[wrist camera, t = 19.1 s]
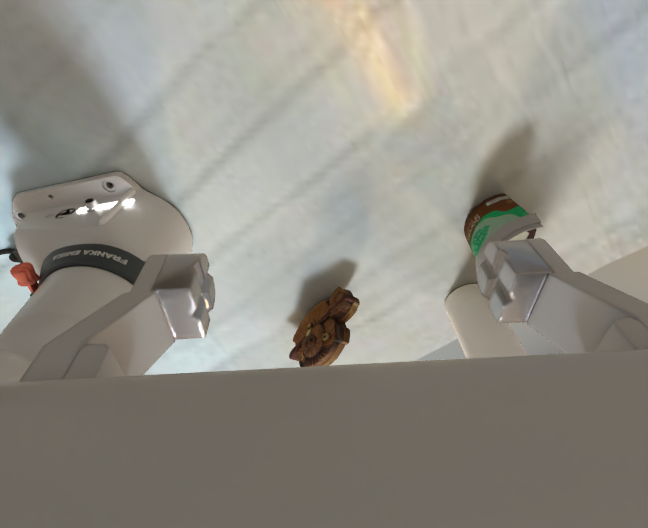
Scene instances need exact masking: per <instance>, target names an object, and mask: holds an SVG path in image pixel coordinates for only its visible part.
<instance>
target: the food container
mask: <svg viewBox="0 0 648 528" xmlns="http://www.w3.org/2000/svg"><path fill="white" fill-rule="evenodd" d="M541 227H543V226H542V225H541V221H540V219H539V218H538V216H537V215H536V214H529V213H527V212H526V211H525V210H524V209H523V208H521V207H520V206H519V205H518V204H517V203H515V202H514V201H513V200H512V199H511V198H509V197H508V196H507V195H506V194H500V195H495V196H493V197H491V198H489V199H486V200H484V201H483V202H482V203H480V204H479V205H478V206H476V207H475V208H474V209H473V211H472V212H471V213H470V214H469V216H468V218H467V220H466V222H465V226H464V232H465V236H466V239H467V241H468V243H469V245H470V247H471V249H472V252H473V254H474V256H475V258H476V272H477V273H478V269H479V265H480V264H481V263H482V262H484V261H485V260H486V257H485V256H484V254H483V252H484V249H485V246H486V244H487V243H488V242H492V241H511V240H523V239H534V236H535V232H536V228H541Z"/></svg>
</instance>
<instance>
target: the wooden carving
mask: <svg viewBox="0 0 648 528" xmlns="http://www.w3.org/2000/svg"><path fill="white" fill-rule="evenodd" d="M359 303H360V302H359V300H358V299H357V298H355V297H354V296H353V295H352V293H351V291H349V290H346V289H342V288H340V287H338V288H337V289H336V290H335V292H334V293H333V295H332V297H331V298H330V300H324V301H321V302H320V303H318V304H317V305H316V306H314V307H313V308H312V309H311V310H310V311H309V313H308V314H307V315H306V317H305V318H304V319H303V320H302V322H301V324H300V326H299V327H298V329H297V331H296V334H295V335H294V338H293V342H295V343H296V346H295V347H294V348H293V349H292V351H291V353H290V355H289V358H290V359H293V360H297V361H299V364H300V367H315V366H329V365H331V364H332V363H333V362H334V361H335V360H336V359H337V358H338V356H339V355H340V353H341V352H342V350H343V348H344V346H345V345H347V344H348V343H349V339H350V330H349V329H348V328H347V327H346V325H345V322H347V321H348V320H349V319H350V318H351V317H352V316H353V315H354V314H355V312H356V310H357V308H358V306H359Z"/></svg>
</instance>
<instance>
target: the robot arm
mask: <svg viewBox="0 0 648 528" xmlns="http://www.w3.org/2000/svg"><path fill="white" fill-rule="evenodd" d="M108 182H111V183H112V184H113V186H111V185H110V184H109V183H108ZM21 213H22V214H24V215H25V216H24V215H22V214H21ZM12 214H13V218H14V222H15V225H16V227H17V228H16V231H15V244H16V248H17V249H10V248H9V249H3V250H0V255H1V254H10V256H9V259H10V260H11V261H13V262H20V264H19V265H16V266H14V267H13V268H12V270H10V272H11V274H12V275H13V277H15V278H16V279H17V282H18V285H20V286H28V288H29V289H30V291H31V292H32V293H31V295H30V296H31V297H30V299H29V300H28V301H27V302H26V303H25V305H24V306H23V307H22V308H21V309H20V311H19V312H18V313H17V314H16V315H15V317H14V318H13V319H12V320H11V322H10V323H9V324H8V325H7V326H6V328H5V329H4V330H3V331H2V333H1V334H0V528H648V304H647V303H645V302H643V301H641V300H639V299H637V298H635V297H632V296H630V295H628V294H626V293H624V292H621V291H619V290H617V289H615V288H613V287H611V286H608V285H606V284H604V283H602V282H600V281H597V280H596V279H593V278H591V277H589V276H587V275H585V274H583V273H580V272H573V271H572V270H571V269H570V267H569V266H568V265H567V264H566V263H565V262H564V261H563V260H562V259H561V257H560V256H559V255H558V254H557V253H556V252H555V251H554V250H553V249H552V247H551V246H550V245H549V244H548V243H547V242H546V241H545V240H543V239H541V238H535V239H523V240H511V241H492V242H488V243H487V244H486V246H485V249H484V252H483V254H484V256H485V257H486V260H485V261H484V262H482V263H481V264H480V265H479V269H478V273H477V284H478V287H479V290H480V292H481V294H482V296H484V297H485V298H487V299H488V300H490V303H489V306H488V307H489V309H490V310H491V312H492V314H493V316H494V318H495V319H496V321H497V323H516V322H517V323H518V322H527V324H528V325H529V326H531V327H532V328H533V329H534V330H536V331H537V332H539V333H540V334H541V335H542V336H544V337H545V338H546V339H548V340H549V341H550V342H552V343H553V344H554V345H555V346H557V347H558V348H559V349H561V350H562V351H563V352H565V353H566V354H548V355H531V356H510V357H490V358H470V359H452V360H451V359H450V360H430V361H410V362H391V363H372V364H353V365H334V366H315V367H296V368H277V369H257V370H238V371H219V372H199V373H180V374H160V375H143V374H144V373H145V372H146V371H147V370H148V369H149V368H150V367H151V366H152V365H153V364H154V363H155V362H156V361H157V360H158V359H159V358H160V357H161V355H162V354H163V353H164V352H165V351H166V350H167V349H168V348H169V347H170V346H171V345H172V344H173V343H174V342H175V339H189V338H202V337H206V334H207V330H208V326H209V322H210V317H209V314H208V312H209V311H210V310H212V309H213V306H214V302H215V286H214V281H213V277H212V276H211V275H209V274H208V273H207V272H208V269H209V262H208V258H207V256H206V255H205V254H204V253H202V254H191V251H192V245H193V242H192V235H191V231H190V229H189V226H188V224H187V223H186V221H185V220H184V218H183V217H182V215H181V214H180V213H179V212H178V211H177V210H176V209H175V208H174V207H173V206H171V205H170V204H169V203H167V202H166V201H164V200H163V199H161V198H159V197H157V196H155V195H153V194H151V193H149V192H147V191H145V190H144V189H142V188H141V187H140V186H139V185H138V184H137V183H136V182H134V181H133V180H132V179H131V178H130V177H129V176H127V175H126V174H124V173H122V172H112V173H107V174H103V175H98V176H93V177H89V178H84V179H80V180H75V181H70V182H66V183H61V184H57V185H52V186H47V187H43V188H38V189H34V190H29V191H25V192H21V193H18V194H17V195H16V196H15V197H14V198H13V202H12ZM38 283H39V284H38Z"/></svg>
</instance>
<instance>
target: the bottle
mask: <svg viewBox="0 0 648 528" xmlns="http://www.w3.org/2000/svg"><path fill="white" fill-rule="evenodd" d="M489 303H490V300H488V299H487V298H485V297H484V296H482V294H481V292H480V290H479V287H478V284H468V285H465V286H462V287H459V288H457V289H456V290H454V291H453V292H452V293H451V294H450V295H449V296H448V297H447V299H446V302H445V309H446V312H447V315H448V318H449V320H450V322H451V323H452V326H453V328H454V330H455V333H456V335H457V337H458V340H459V342H460V344H461V347H462V349H463V351H464V353H465V356H466V359H470V358H490V357H510V356H528V355H527V354H526V352H525V350H524V348H523V347H522V345H521V343H520V342H519V340H518V338H517V336H516V335H515V333H514V332H513V330H512V328H511V326H510V325H509V323H497V321H496V319H495V318H494V316H493V314H492V312H491V310H490V309H489V307H488V306H489Z"/></svg>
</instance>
